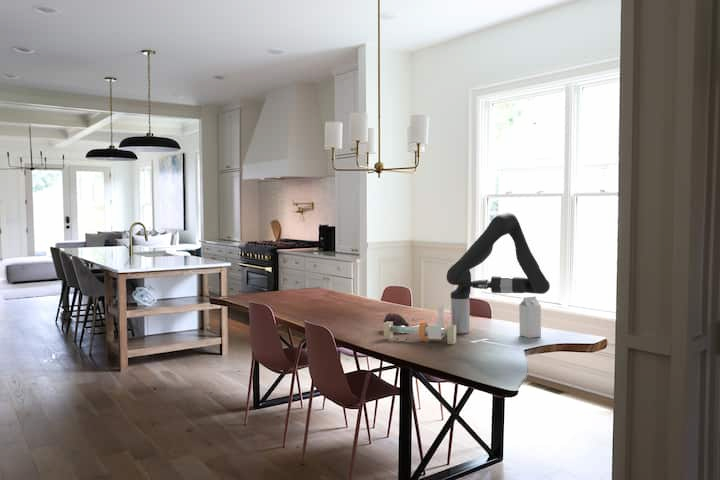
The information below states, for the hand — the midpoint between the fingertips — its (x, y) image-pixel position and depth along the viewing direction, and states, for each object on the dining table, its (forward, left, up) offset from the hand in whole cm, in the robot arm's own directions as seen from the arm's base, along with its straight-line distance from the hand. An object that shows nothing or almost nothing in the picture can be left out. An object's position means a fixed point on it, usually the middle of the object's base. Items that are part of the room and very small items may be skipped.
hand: (463, 283), depth 263 cm
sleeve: (+1, -13, -26) cm, 29 cm away
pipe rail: (+2, -21, -28) cm, 35 cm away
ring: (+2, -19, -26) cm, 33 cm away
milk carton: (-27, +25, -28) cm, 46 cm away
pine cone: (-15, -41, -28) cm, 51 cm away
